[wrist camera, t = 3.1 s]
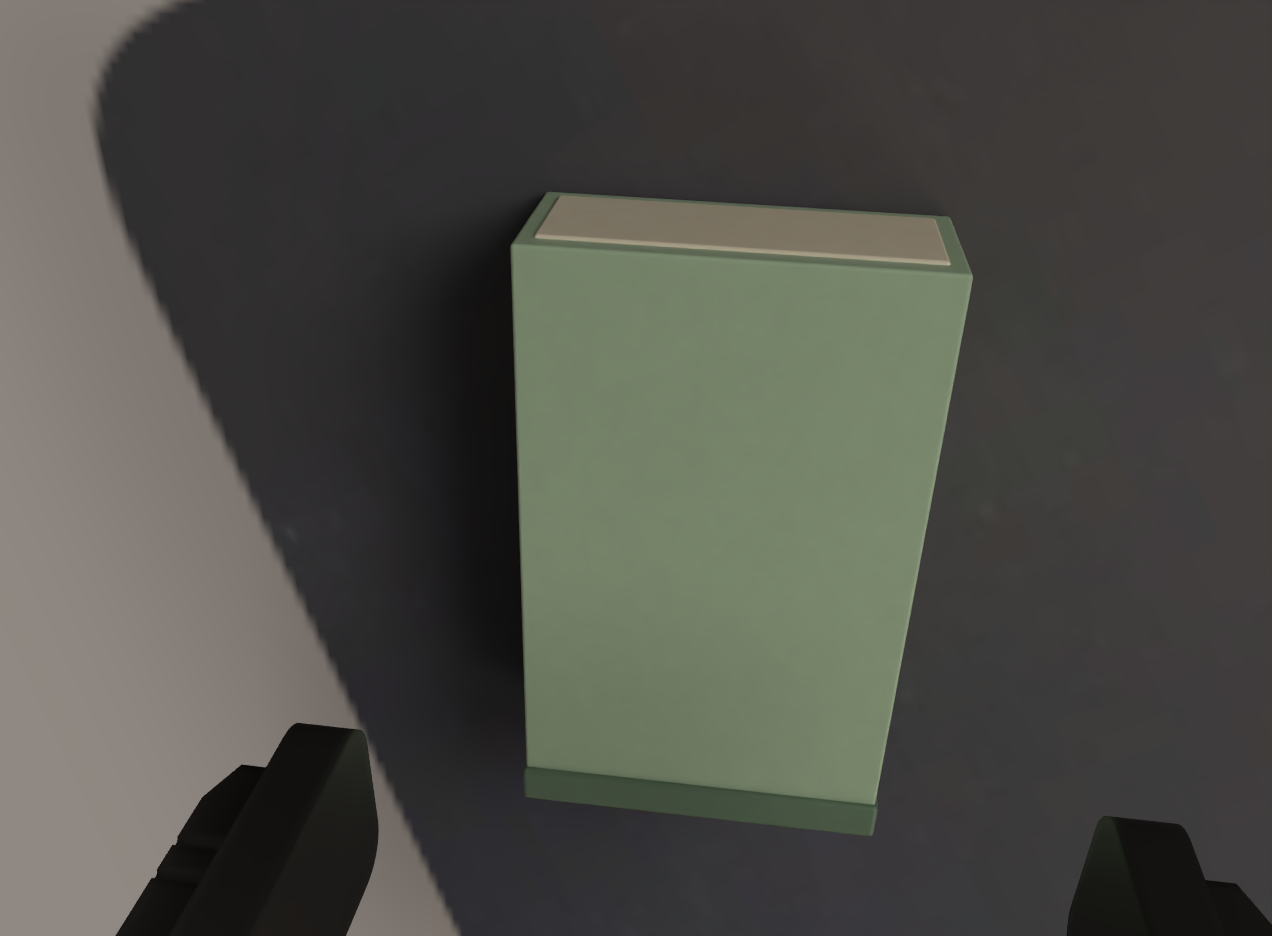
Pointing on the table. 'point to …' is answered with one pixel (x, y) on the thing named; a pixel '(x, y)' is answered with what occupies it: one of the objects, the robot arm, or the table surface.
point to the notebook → (724, 496)
